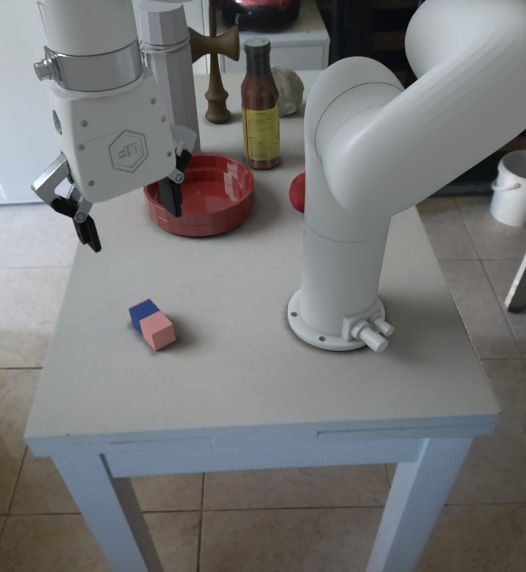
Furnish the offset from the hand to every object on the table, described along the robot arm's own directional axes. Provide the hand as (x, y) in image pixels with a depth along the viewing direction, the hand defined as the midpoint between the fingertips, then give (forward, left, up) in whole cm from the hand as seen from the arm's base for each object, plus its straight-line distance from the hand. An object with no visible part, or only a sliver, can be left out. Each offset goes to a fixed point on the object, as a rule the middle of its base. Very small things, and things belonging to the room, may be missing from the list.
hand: (133, 228), depth 61 cm
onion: (+8, -32, -16) cm, 37 cm away
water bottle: (+34, -24, -16) cm, 45 cm away
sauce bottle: (+25, -36, -16) cm, 47 cm away
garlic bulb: (+38, -50, -16) cm, 65 cm away
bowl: (+20, -20, -16) cm, 33 cm away
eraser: (0, 0, -16) cm, 16 cm away
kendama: (+43, -39, -16) cm, 60 cm away
